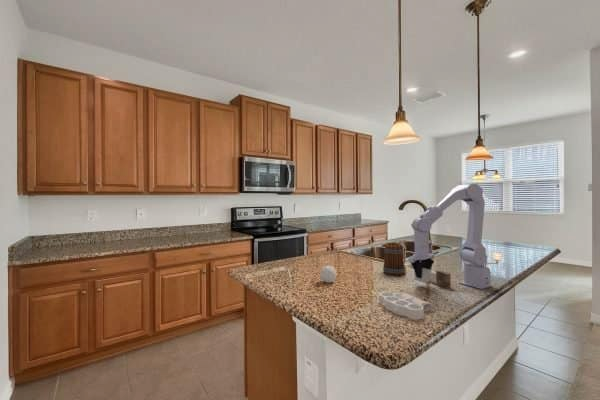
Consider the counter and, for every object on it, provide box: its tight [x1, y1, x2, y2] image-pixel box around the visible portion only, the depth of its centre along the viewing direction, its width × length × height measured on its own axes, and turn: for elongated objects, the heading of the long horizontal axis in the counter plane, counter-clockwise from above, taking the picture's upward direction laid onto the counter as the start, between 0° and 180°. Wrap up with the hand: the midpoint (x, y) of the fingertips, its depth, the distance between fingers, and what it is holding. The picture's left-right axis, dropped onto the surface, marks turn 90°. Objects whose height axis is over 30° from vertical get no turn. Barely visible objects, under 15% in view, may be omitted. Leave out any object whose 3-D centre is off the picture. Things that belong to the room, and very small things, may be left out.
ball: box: [319, 265, 338, 284], centre depth 126 cm, size 8×8×8 cm
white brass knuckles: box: [378, 291, 433, 320], centre depth 95 cm, size 3×18×15 cm
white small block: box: [413, 268, 432, 284], centre depth 117 cm, size 5×4×5 cm
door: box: [430, 270, 436, 283], centre depth 125 cm, size 12×2×4 cm, turn 28°
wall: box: [435, 269, 452, 289], centre depth 116 cm, size 6×2×6 cm, turn 28°
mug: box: [382, 241, 406, 277], centre depth 140 cm, size 16×11×15 cm
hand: (422, 276), depth 117 cm, fingers closed on white small block, 4 cm apart
